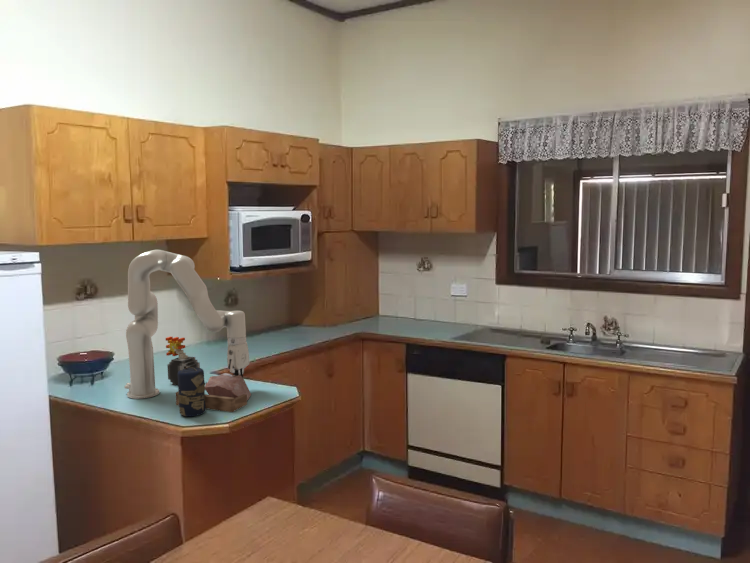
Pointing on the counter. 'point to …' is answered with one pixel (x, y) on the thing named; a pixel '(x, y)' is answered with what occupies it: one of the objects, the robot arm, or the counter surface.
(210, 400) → the stop cradle
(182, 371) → the canister
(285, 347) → the counter surface
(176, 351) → the bomb
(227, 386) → the stone
